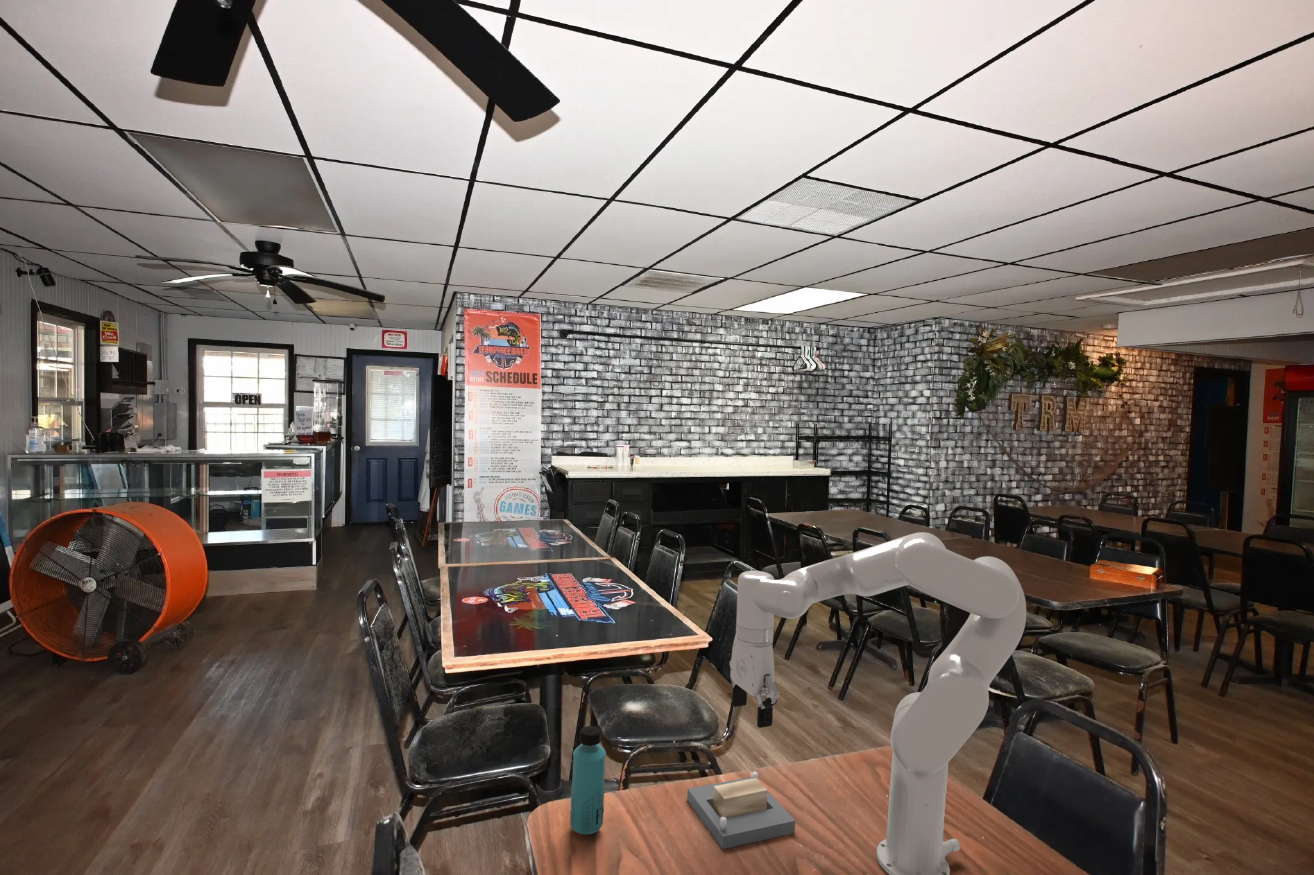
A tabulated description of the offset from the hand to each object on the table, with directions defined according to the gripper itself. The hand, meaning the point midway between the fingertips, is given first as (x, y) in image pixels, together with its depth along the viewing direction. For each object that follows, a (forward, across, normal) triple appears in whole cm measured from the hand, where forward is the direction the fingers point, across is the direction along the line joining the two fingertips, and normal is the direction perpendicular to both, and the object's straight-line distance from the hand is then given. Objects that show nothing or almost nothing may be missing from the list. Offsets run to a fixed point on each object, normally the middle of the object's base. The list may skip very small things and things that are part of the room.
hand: (751, 715), depth 132 cm
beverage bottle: (+20, -5, -33) cm, 39 cm away
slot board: (+20, 0, -2) cm, 20 cm away
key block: (+20, 0, -2) cm, 20 cm away
